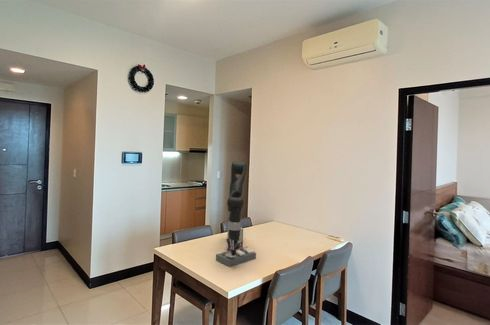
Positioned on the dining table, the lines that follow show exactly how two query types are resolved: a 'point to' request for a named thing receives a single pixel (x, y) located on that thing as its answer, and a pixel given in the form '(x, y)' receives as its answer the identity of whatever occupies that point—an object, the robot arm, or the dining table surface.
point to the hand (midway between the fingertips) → (233, 255)
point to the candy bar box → (239, 239)
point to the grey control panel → (234, 258)
